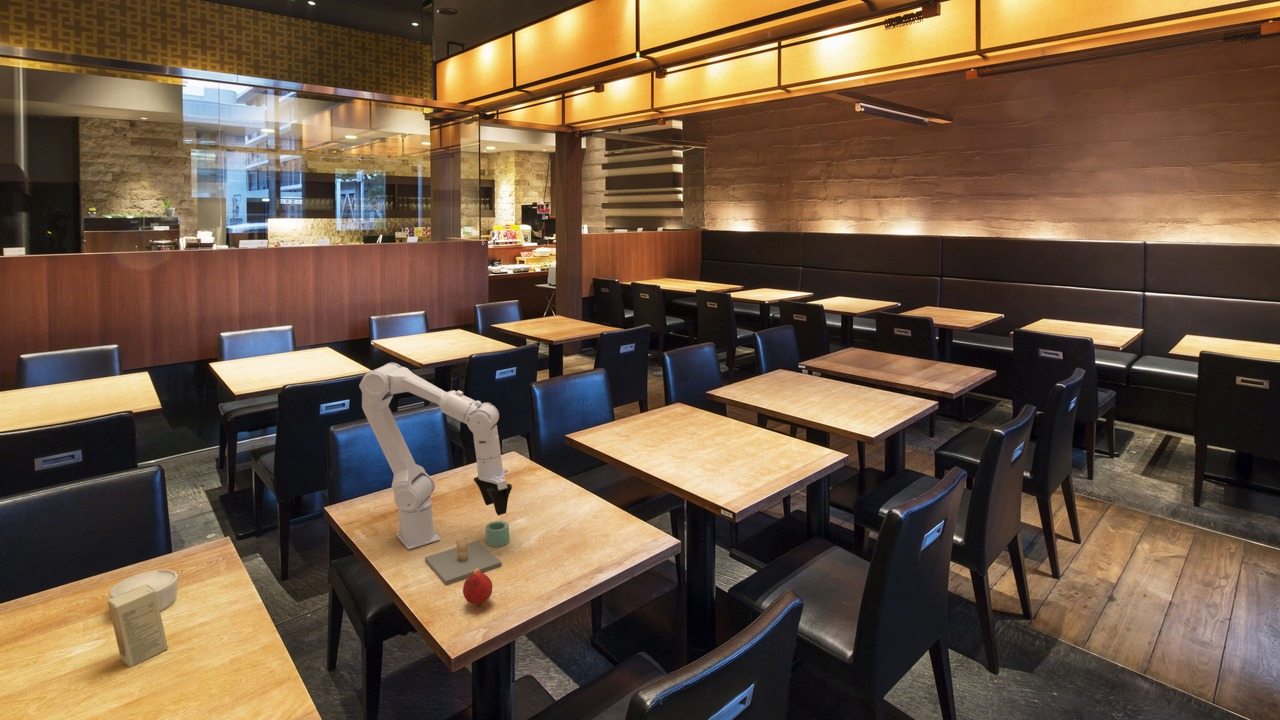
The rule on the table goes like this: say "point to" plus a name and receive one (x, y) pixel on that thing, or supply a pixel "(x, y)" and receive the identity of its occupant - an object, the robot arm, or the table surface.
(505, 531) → the green ring
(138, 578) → the ramekin
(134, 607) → the skincare box
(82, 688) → the table surface
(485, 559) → the grey board
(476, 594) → the onion
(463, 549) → the beech post
